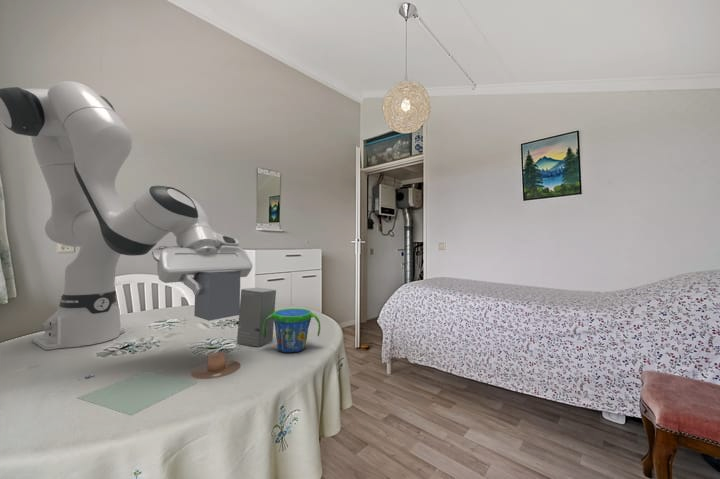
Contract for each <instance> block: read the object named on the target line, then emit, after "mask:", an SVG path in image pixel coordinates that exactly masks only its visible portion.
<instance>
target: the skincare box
mask: <svg viewBox="0 0 720 479" xmlns="http://www.w3.org/2000/svg"><path fill="white" fill-rule="evenodd" d="M276 295H277V289H270V288H263V287H248V288H242V289H241V288H240V315H238V324H237V325H238V326H237V336H236V344H239V345H244V346H245V345H246V346H250V347H251V346H252V347H258V348H260V347H262V346H264V345H267V344H269V343H271V342H270V341H272V340H273V339H274V328H275V323H274V319H273V318H269V319H268V320H267V322H266V338H264V337H263V325H264V322H265V320H266V318H267V317H268V316H270V315H271V314H273V313H274V312H275V309H276V298H277V297H276ZM268 342H269V343H268ZM272 342H273V341H272ZM266 343H267V344H266Z"/></svg>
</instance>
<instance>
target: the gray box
mask: <svg viewBox="0 0 720 479" xmlns="http://www.w3.org/2000/svg"><path fill="white" fill-rule="evenodd" d="M240 272H241V271H237V270H216V271H199V273H196V276H195V281H196V282H197V283H198V284H202V285H203V287H204V292H203V294H200V295H194V315H193V316H194V317H196V318H199V319H202V320H205V321H215V320H220V319H224V318H231V317H235V316H239V315H240V300H241V277H240Z"/></svg>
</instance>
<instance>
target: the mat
mask: <svg viewBox="0 0 720 479" xmlns="http://www.w3.org/2000/svg"><path fill="white" fill-rule="evenodd" d="M196 384H197V382H196V381H191V380H187V379H182V378H179V377H173V376H170V375H165V374H161V373H156V372H153V371H144V372H141V373H139V374H136V375H133V376H130V377H128V378H125V379H122V380H120V381H116V382H115V383H112V384H109V385H107V386H104V387H101V388H99V389H96V390H94V391H91V392H88V393H86V394H83V395H80V396H77V397H76V399H79V400H82V401H86V402H87V403H91V404H93V405H97V406H100V407H103V408H107V409H110V410H114V411H115V412H116V411H117V412H119V413H122V414H126V415H129V416H134V415H136V414H137V413H140V412H141V411H143V410H145V409H147V408H149V407H151V406H154V405H155V404H158V403H160V402H162V401H164V400H166V399H167V398H169V397H173V396H174V395H177V394H178V393H180V392H181V391H184V390H186V389H188V388H190V387H192V386H194V385H196Z"/></svg>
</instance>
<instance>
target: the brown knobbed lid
mask: <svg viewBox="0 0 720 479" xmlns="http://www.w3.org/2000/svg"><path fill="white" fill-rule="evenodd" d="M226 355H227V354H226V352H223V351H219V352H212V353H210V354H208V355H207V362H205V363H202V364H200V365H198V366H196V367H194V368H193V369H191V371H190V376H191V377H192V378H195V379H198V380H199V379H201V380H212V379H217V378H222V377H225V376H229V375H231V374H234V373H235V372H237V371H238V370H240V368H241V363H240V362H239V361H236V360H231V359H226Z"/></svg>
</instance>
